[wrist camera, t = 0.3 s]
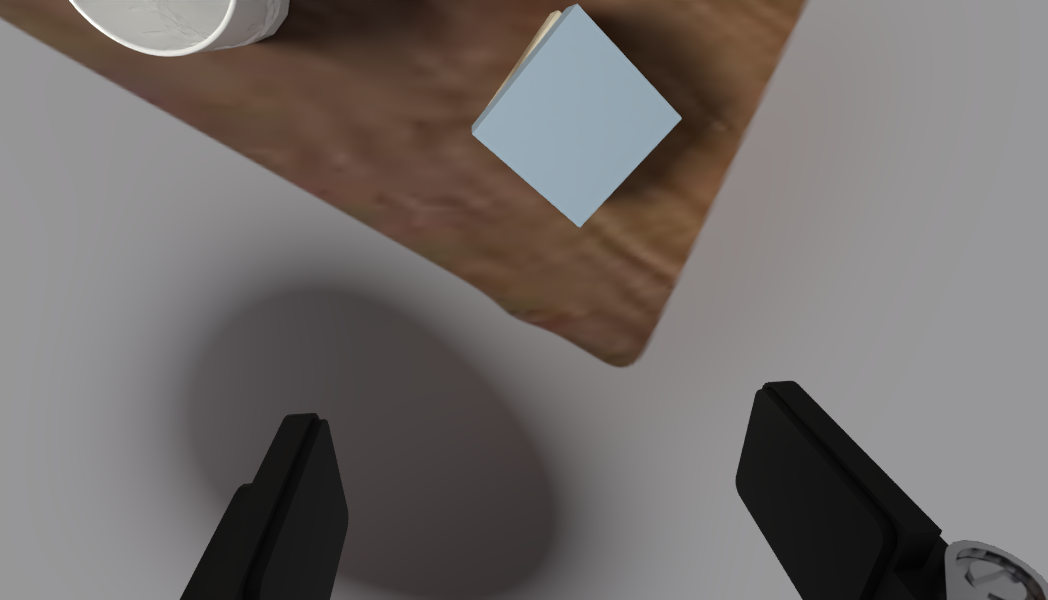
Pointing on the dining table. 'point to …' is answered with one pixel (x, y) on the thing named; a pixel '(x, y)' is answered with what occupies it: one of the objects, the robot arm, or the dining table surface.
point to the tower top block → (575, 117)
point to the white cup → (184, 23)
